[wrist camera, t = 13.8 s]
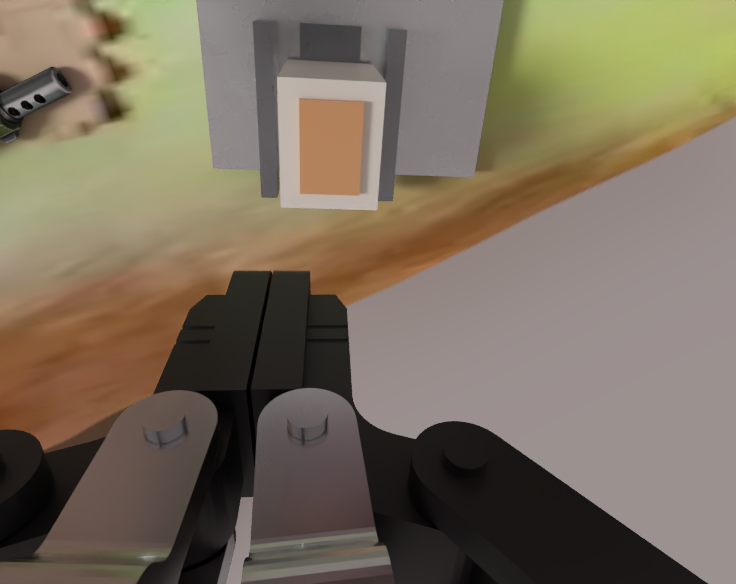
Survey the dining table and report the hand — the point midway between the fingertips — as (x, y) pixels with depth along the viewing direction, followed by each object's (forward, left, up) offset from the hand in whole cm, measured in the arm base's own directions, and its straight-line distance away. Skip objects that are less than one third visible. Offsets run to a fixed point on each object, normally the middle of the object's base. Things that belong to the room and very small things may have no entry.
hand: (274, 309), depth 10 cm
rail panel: (-3, +2, -19) cm, 19 cm away
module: (-1, +1, -17) cm, 17 cm away
